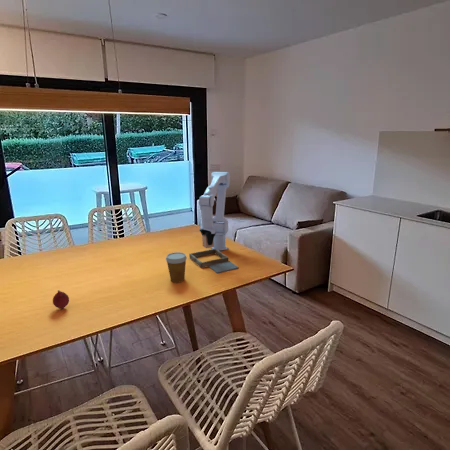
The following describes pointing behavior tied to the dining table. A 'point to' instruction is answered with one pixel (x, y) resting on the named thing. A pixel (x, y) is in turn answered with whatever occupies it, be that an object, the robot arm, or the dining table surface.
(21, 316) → the dining table surface
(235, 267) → the mat
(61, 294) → the onion
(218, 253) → the grey square frame
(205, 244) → the block
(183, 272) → the disposable coffee cup
